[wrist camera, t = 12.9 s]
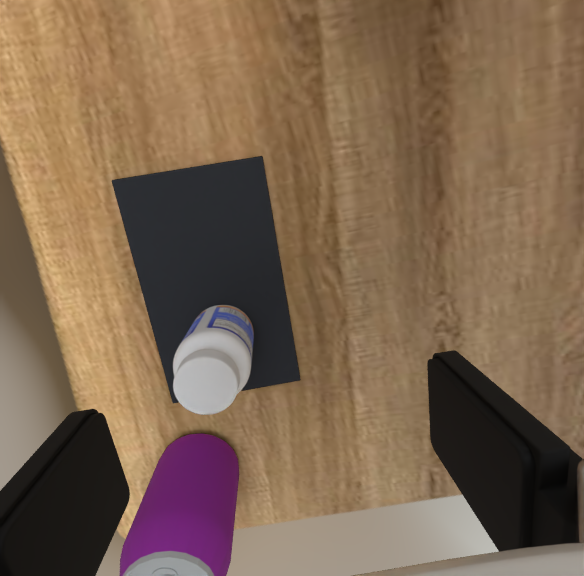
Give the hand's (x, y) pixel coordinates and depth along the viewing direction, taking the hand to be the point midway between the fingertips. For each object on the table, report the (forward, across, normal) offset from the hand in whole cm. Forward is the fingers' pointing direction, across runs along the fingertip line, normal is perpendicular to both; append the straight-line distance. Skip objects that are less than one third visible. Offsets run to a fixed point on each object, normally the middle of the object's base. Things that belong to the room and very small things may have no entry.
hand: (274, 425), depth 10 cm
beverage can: (+21, +10, +18) cm, 29 cm away
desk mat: (+21, +5, +1) cm, 22 cm away
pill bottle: (+21, +5, +5) cm, 22 cm away
